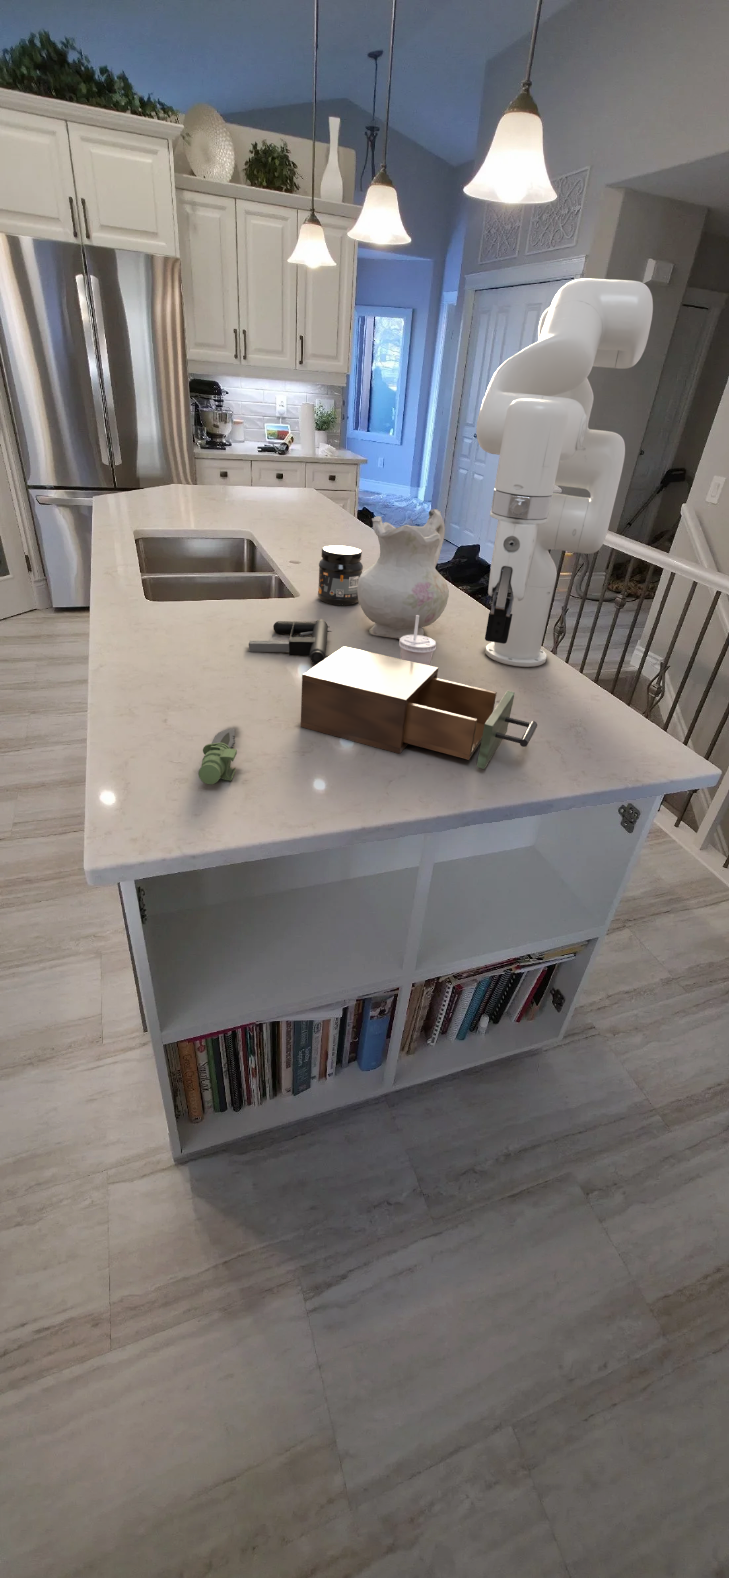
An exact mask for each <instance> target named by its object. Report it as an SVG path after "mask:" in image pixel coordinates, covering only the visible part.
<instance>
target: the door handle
mask: <svg viewBox="0 0 729 1578" xmlns="http://www.w3.org/2000/svg"><path fill="white" fill-rule="evenodd" d="M272 629H273V631H274V633H276V634H280V635H290V636H289V639H288V640H249V641H248V652H250V653H252V652H253V653H255V652H256V653H289V656H291V657H292V656H295V657H296V656H297V657H298V656H299V657H301V656H302V657H309V659H310V662H311V663H312V664H314V665H317V664H318V663H320V662H321V661H323V660H324V659H326V658H327V657H329V655H327V653H326V651H327V641H328V633H330V632H331V633H332V632H333V631H331V630H329V625H328V622H327V621H326V620H324V619H318V620H316V621H309V620H308V621H304V620H303V621H302V620H301V621H299V620H298V621H297V620H293V621H291V620H278V621H276V622H274V624H273V627H272ZM295 635H299V636H295Z"/></svg>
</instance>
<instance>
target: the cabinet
mask: <svg viewBox="0 0 729 1578" xmlns="http://www.w3.org/2000/svg"><path fill="white" fill-rule="evenodd" d="M438 674H439V667H437V666H434V665H433V666H432V665H425V664H420V663H416V662H411V661H407V660H403V659H401V658H397V657H393V656H389V655H386V654H385V655H384V654H380V653H376V652H371V651H367V650H363V649H359V648H353V647H349V646H345V645H344V646H342V647H341V648H339V649H338V650H336V651H334V652H333V653H332V654H330V655H328V657H325V659H324V660H323V661H321V662H320V663H318V664H317V665H316V664H314V666H312V667H311V668H310V669H307V671H305V672H304V673H302V674H301V701H300V702H301V703H300V705H301V706H300V728H304V729H308V730H312V731H315V732H319V733H322V734H325V735H329V736H333V737H337V738H340V739H344V740H347V741H350V742H354V743H358V744H362V745H366V746H369V747H373V748H376V749H380V750H384V751H387V752H390V753H395V754H399V755H400V754H401V753H402V752H403V751H404V750H405V749H406V747H407V746H408V745H409V744H408V743H404V742H403V737H404V728H405V720H406V711H407V703H408V702H409V701H410V700H411V699H412V698H413V697H414V696H415V695H416V694H417V693H418V692H419V691H420V690H421V689H422V688H423V687H424V686H425V685H426V684H427V683H428V682H429V681H430V680H431V679H432V678H433V677H434V678H438V676H439V675H438Z"/></svg>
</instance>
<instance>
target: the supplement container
mask: <svg viewBox="0 0 729 1578" xmlns="http://www.w3.org/2000/svg"><path fill="white" fill-rule="evenodd" d="M320 553H321V559H320V561H319V562H318V587H317V588H318V590H317V597H318V599H319V600H320V601H321V602H323V603H326V604H329V605H333V606H351V605H355V604H357V603H359V601H358V593H357V586H358V581H359V577H360V575H361V574H362V572H363V571H364V565H363V564H362V562H361V561H362V558H363V557H362V555H363V551H362V550H361V549H360V548H357V547H354V546H351V545H344V544H343V545H342V544H331V545H325V546H323V547H322V548H321V552H320Z"/></svg>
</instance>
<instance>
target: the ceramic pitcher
mask: <svg viewBox="0 0 729 1578" xmlns="http://www.w3.org/2000/svg"><path fill="white" fill-rule="evenodd" d="M441 513H442V511H440V509H438V508H431V509H430V510H429V511H428V519H427V521H426V523H425V524H424V525H423V526H416V525H415V526H414V525H410V524H405V525H401V526H399V527H395V526H394V525H392V524H391V523H389V522H387V521H385V522H383V518H382V516H380V515H379V516H375V517H373V518H371V521H372V528H373V532H374V533H375V535H376V537H377V539H378V544H379V557H378V559H377V561H376V562H375V563H374V564H372V565H371V566H370V567H368V568H366V569H365V570H363V571H362V574H361V575H360V577H359V581H358V586H357V593H358V604H359V606H360V608H361V610H362V612H363V614H364V616H366V617H367V619H369V620H370V621H371V622H373V623H374V625H373V626H372V627H371V628H370V629H369V630H368V631H369V634H370V635H373V636H377V637H386V638H392V639H397V640H400V638H401V637H403V636H406V635H414V629H415V620H416V615H419V623H418V631H417V635H422V636H425V631H424V629H423V628H425V627H428V626H430V625H432V624H433V623H435V622H436V621H437V620H438V619H439V618H440V617H441V616H442V614H443V613H444V611H445V609H446V607H447V604H448V601H449V596H450V594H449V592H450V589H449V586H448V583H447V580H446V579H445V577H443V575H442V574H440V572H439V571H438V570H437V569H436V566H437V565H438V562H439V560H440V556H441V552H442V548H443V544H444V541H445V533H446V526H445V521H444V518H443V516H442V515H441Z"/></svg>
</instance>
